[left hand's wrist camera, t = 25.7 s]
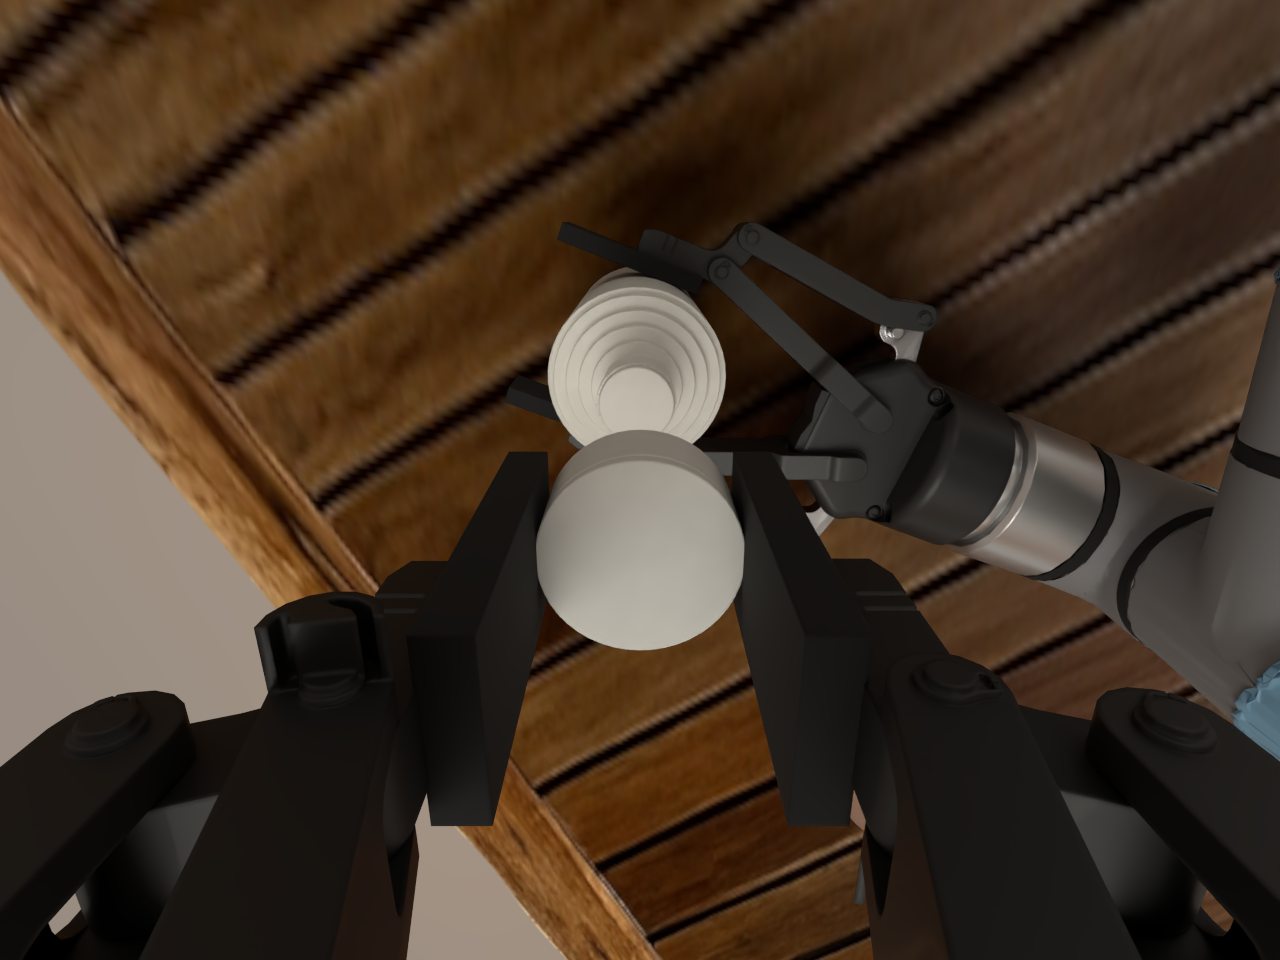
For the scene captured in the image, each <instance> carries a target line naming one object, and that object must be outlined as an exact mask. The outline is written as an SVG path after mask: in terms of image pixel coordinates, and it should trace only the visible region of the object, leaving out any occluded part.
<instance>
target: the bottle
mask: <svg viewBox="0 0 1280 960" xmlns="http://www.w3.org/2000/svg"><path fill="white" fill-rule="evenodd" d="M725 382H726V368H725V360H724V355H723V351H722V348H721V345H720V342H719V340H718V338H717V336H716V334H715V332H714V330H713V329H712V327H711V326H710V324H709V323H708V321H707V320H706V318H705V317H704V316H703V314H702V313H701V311H700V310H699V308H698V307H697V305H696V304H695V302H694V301H693V299H692V298H691V297H690V295H689V294H688V292H687V291H685V290H683V289H680V288H678V287H675V286H673V285H670V284H668V283H666V282H663V281H660V280H658V279H655V278H653V277H650V276H648V275H645V274H643V273H640V272H638V271H635V270H633V269H630V268H628V267H625V268H621V269H618V270H615V271H613V272H610V273H609V274H607V275H605V276H603V277H602V278H601V279H599V280H598V281H597V282H596V283H595V284H594V285H593V286H592V287H591V288H590V289H589V291H588V292H587V293H586V295H585V296H584V297H583V299H582V300H581V301H580V303H579V304H578V306H577V307H576V308H575V310H574V311H573V312H572V314H571V315H570V317H569V318H568V319H567V321H566V322H565V324H564V325H563V326H562V328H561V330H560V332H559V333H558V335H557V337H556V339H555V342H554V344H553V347H552V350H551V354H550V358H549V365H548V385H549V392H550V396H551V399H552V403H553V406H554V408H555V410H556V413H557V415H558V417H559V418H560V420H561V422H562V423H563V425H564V426H565V427H566V429H567V430H568V431H569V432H570V434H571V435H572V436H573V437H574V438H575V439H576V440H577V441H579V442H580V443H581V444H583V445H584V446H587V445H588V444H590V443H591V442H593V441H595V440H597V439H600V438H602V437H604V436H607V435H610V434H613V433H616V432H622V431H627V430H654V431H659V432H664V433H668V434H671V435H674V436H677V437H679V438H681V439H684V440H686V441H688V442H690V443H691V444H693V443H694V442H695V441H696V440H697V439H698V438H700V437H701V435H702V434H703V433H704V432H705V431H706V430H707V429H708V427H709V426H710V424H711V423H712V421H713V420H714V418H715V416H716V414H717V412H718V410H719V408H720V405H721V402H722V399H723V395H724V390H725Z"/></svg>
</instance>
